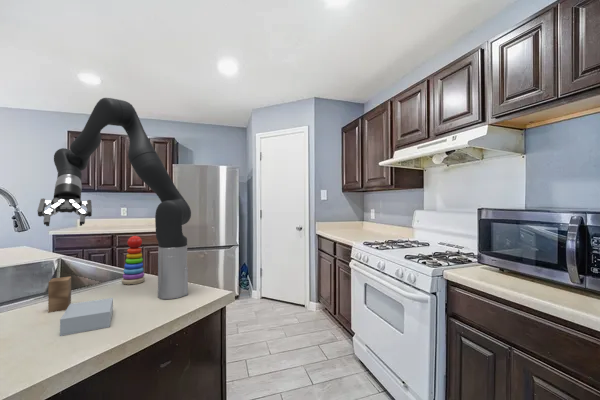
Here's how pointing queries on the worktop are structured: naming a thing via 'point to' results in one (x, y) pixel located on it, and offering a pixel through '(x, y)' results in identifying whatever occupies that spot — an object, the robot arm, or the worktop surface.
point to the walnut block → (59, 294)
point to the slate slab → (86, 316)
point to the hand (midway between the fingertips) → (64, 224)
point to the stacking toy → (133, 262)
